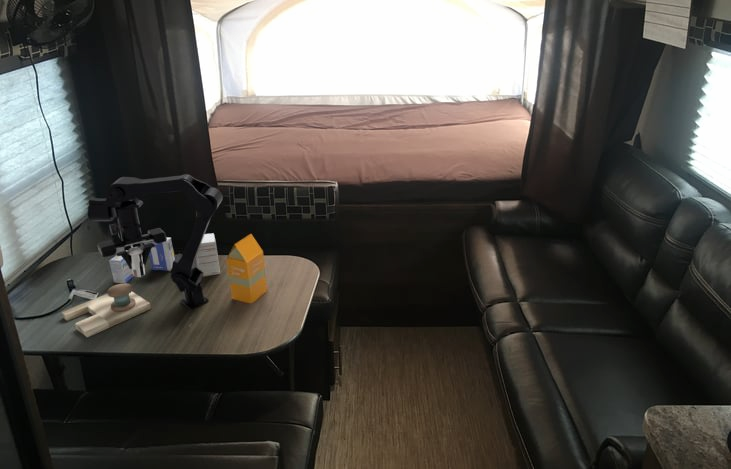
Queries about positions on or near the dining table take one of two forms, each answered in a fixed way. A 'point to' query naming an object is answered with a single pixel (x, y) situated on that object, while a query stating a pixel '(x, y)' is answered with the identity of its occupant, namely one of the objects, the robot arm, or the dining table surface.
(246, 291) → the orange juice
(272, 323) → the dining table surface
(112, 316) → the board
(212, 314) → the dining table surface
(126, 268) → the medicine box
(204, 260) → the supplement box
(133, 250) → the milkshake
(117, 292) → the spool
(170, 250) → the walkman
